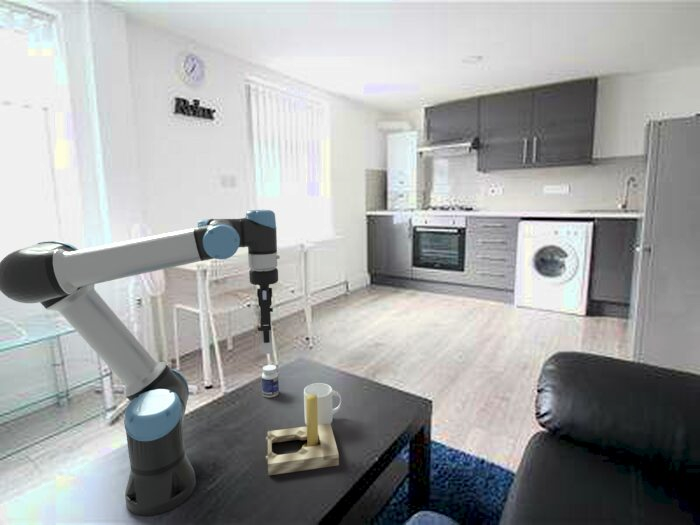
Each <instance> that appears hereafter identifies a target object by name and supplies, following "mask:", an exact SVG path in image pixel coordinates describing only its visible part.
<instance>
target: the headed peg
mask: <svg viewBox="0 0 700 525" xmlns="http://www.w3.org/2000/svg"><path fill="white" fill-rule="evenodd" d="M306 419H307V425H306V426H307V442H306V443H304V444H303V445H301V446H302V447H301V449H302V448H303V447H310V446H318V445H320V441H319V438H318V412H317V396H316V395H315V394H309V395H307V396H306Z"/></svg>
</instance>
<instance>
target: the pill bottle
mask: <svg viewBox="0 0 700 525" xmlns="http://www.w3.org/2000/svg"><path fill="white" fill-rule="evenodd" d="M261 392H262V396H263V397H265V398H274V397H276V396H278V395H279V394H280V393H279V392H280V385H279V373H278V372H277V366H276V365H275V364H267V365H264V366H263V367H262V373H261Z"/></svg>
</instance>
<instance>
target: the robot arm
mask: <svg viewBox="0 0 700 525" xmlns="http://www.w3.org/2000/svg"><path fill="white" fill-rule="evenodd" d="M277 234H278V233H277V222H276V213H275V212H274V211H273V210H270V209H251V210H247V211H246V214H245V217H242V218H210V219H200V220H198V222H197V227H194V228H189V229H183V230H178V231H173V232H167V233H161V234H158V235H152V236H146V237H141V238H137V239H129V240H126V241H120V242H113V243H109V244H104V245H99V246H93V247H88V248H83V249H78V248H77V247H75V246H74V245H72V244H70V243H67V242H63V241H56V240H52V241H50V240H48V241H41V242H38V243H36V244H33V245H30V246H28V247H24V248H21V249H18V250H15V251H13V252H11V253H8V254H7V255H6V256H5V257H4V258H2V259H1V261H0V292H1V293H2V294H4V296H5V297H7V298H8V299H9V300H12V301H15V302H17V303H22V304H38V303H40V304H41V305H42V307H44V309H46V310H47V311H57V312H59V313H60V314H61V315H62V317H63V318H64V319H65V320H66V321H67V322H68V324H69V325H70V326H71V327H72V328H73V329H74V330H75V331H76V332H77V333H78V335H79V336H80V337H81V338H82V339H83V340H84V341H85V343H86V344H87V345H88V346H89V347H90V348H91V349H92V350H93V352H95V353H96V355H97V356H98V357H99V358H100V359H101V360H102V361H103V363H105V364H106V365H107V367H108V368H109V369H110V370H111V371H112V373H114V374H115V375H116V377H117V378H118V379H119V380H120V381H121V382H122V384H124V391H123V394H124V396H125V397H126V399H127V400H128V401H129V403H128V404H127V406H126V408H125V410H124V420H123V421H124V422H123V425H124V430H125V435H126V441H127V449H128V450H127V451H128V456H129V458H128V459H129V464H130V472H129V475H128V479H127V483H126V486H125V488H126V489H125V492H124V493H125V495H124V497H125V505H126V507H127V508H126V509H128V511H130V512H131V513H132V514H135V515H138V516H143V517H144V516H146V515H147V516H148V515H149V516H155V514H156V515H160V514H163V513H165V512H168V511H171V510H173V509H175V508H177V507H179V506H180V505H181V504H182V503H183V502H185V501H186V500H187V499H188V498H189V497H190V496H191V495H192V493H193V491H194V490H195V488H196V483H197V482H196V480H197V479H196V472H195V470H194V468H193V466H192V464H191V461H190V460H189V459H188V456H187V455H186V448H185V438H184V437H185V436H184V435H185V434H184V422H185V420H184V419H185V414H186V409H187V404H188V400H189V396H190V392H189V390H190V389H189V384H188V380H187V379H186V377H185V376H184V375H183V373H181V372H180V371H178V370H176V369H174V368H170V367H169V365H167V363H166V362H164V361H156V360H155V359H154V357H152V355H150V353H149V352H148V351H147V350H146V349H145V347H144V346H143V345H142V344H141V342H139V340H138V338H136V337H135V335H133V333H132V332H131V331H130V329H129V328H128V327H127V326H126V325H125V324H124V323H123V321H122V320H121V319H120V318H119V317H118V315H117V314H116V313H115V312H114V311H113V309H111V307H110V306H109V305H108V304H107V303H106V301H105V300H104V299H103V298H102V297H101V296H100V294H99V293H98V292H97V290H96V289H95V285H96V284H100V283H101V284H102V283H106V282H110V281H114V280H119V279H124V278H129V277H133V276H138V275H143V274H147V273H151V272H157V271H160V270H165V269H170V268H175V267H180V266H184V265H188V264H194V263H198V262H203V261H209V260H214V259H216V260H220V261H221V260H227V259H230V258H231V257H233V256H234V255H235V254H236V253H237V251H238V250H239V248H247V249H248V250H247V251H248V252H247V258H248V259H247V261H248V268H250V270H249V271H248V272H249V273H248V274H249V283H250V284H251V285H253V286H259V288H257V289H256V296H257V300H258V301H257V302H258V303H257V304H258V307H259V311H260V312H259V313H260V327H258V328H257V331H258V332H260V340H261V341H260V342H261V343H260V345H261V355H267V354H270V355H271V354H273V334H272V333H273V332H272V312H274V311H273V310H274V309H273V307H272V306H273V302H272V297H273V288H272V287H270V285H274V284H275V285H276V284H277V283H278V281H279V269H278V268H277V267H278V260H279V259H280V258H281V257H280V255H278V245H277V244H278V241H277V239H278V238H277ZM149 516H148V517H149Z"/></svg>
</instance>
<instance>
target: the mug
mask: <svg viewBox="0 0 700 525" xmlns="http://www.w3.org/2000/svg"><path fill="white" fill-rule="evenodd" d="M309 394H315V395H316V396H317V412H318V425H322V424H331V425H332V423H333V415H334V414H336V413H338V412H339V410H340V408H341V404H342V396H341V394H340V392H338V391H337V390H333V388H332V386H330V385H329V384H327V383H322V382H317V383H311V384H308V385H306V386H305V387H304V388H303V405H304V406H303V407H304V408H303V409H304V413H303V414H304V423H305V426H307V419H306V396H307V395H309ZM333 397H338V398H339V404H338V406H337V407H335V408H333Z"/></svg>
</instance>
